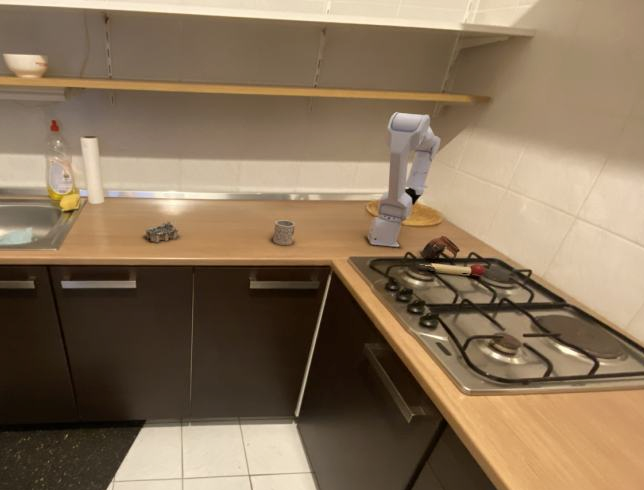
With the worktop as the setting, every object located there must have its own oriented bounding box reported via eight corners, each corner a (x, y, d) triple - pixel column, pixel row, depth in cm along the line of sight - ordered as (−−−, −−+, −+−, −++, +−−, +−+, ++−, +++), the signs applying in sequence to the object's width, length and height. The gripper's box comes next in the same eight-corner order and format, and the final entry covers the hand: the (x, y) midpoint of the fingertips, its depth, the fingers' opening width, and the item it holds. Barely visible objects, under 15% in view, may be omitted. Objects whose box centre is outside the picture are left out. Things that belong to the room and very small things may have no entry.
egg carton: (170, 231, 139) (170, 220, 137) (180, 238, 134) (180, 227, 132) (143, 236, 134) (143, 224, 132) (152, 243, 129) (152, 231, 127)
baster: (419, 273, 117) (424, 263, 115) (417, 265, 120) (422, 255, 117) (482, 280, 115) (489, 270, 112) (478, 271, 118) (485, 262, 115)
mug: (294, 244, 133) (297, 226, 129) (276, 245, 132) (279, 226, 128) (284, 234, 141) (287, 216, 138) (267, 234, 140) (269, 217, 137)
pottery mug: (421, 250, 134) (442, 232, 129) (443, 269, 131) (464, 252, 126) (414, 251, 125) (436, 232, 120) (437, 272, 121) (460, 253, 117)
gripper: (438, 177, 129) (424, 216, 136) (424, 168, 141) (413, 204, 148) (415, 175, 130) (403, 214, 137) (404, 167, 142) (394, 203, 149)
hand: (407, 209), depth 142 cm, fingers closed
